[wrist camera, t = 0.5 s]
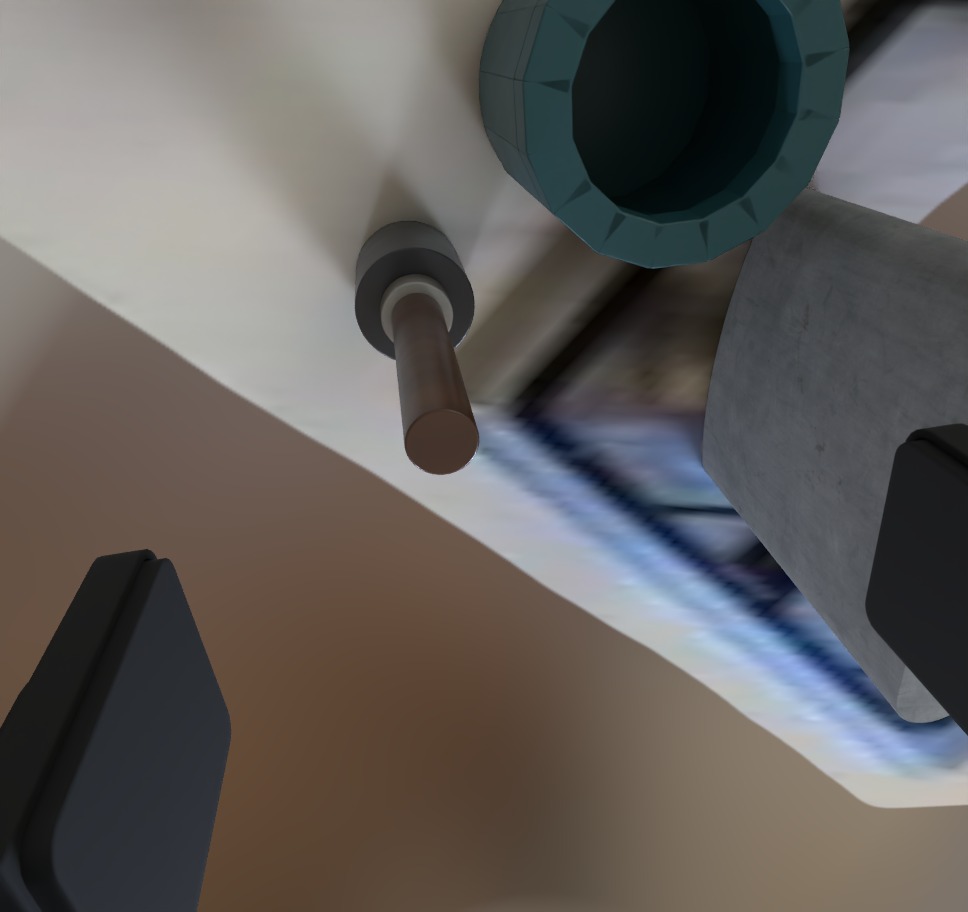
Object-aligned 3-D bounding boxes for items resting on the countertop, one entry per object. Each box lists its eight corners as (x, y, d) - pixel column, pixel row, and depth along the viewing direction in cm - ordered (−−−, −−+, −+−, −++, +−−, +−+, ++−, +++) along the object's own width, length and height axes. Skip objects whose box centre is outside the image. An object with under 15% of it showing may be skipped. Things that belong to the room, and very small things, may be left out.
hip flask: (748, 479, 42) (1012, 779, 25) (681, 479, 42) (905, 787, 25) (832, 189, 35) (1291, 333, 18) (752, 184, 34) (1148, 328, 17)
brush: (347, 227, 33) (334, 372, 18) (454, 214, 33) (525, 346, 19) (365, 330, 35) (367, 530, 21) (465, 317, 35) (535, 504, 21)
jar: (467, -50, 28) (512, -91, 20) (723, -73, 29) (874, -122, 21) (488, 222, 33) (532, 285, 25) (706, 196, 34) (822, 248, 26)
